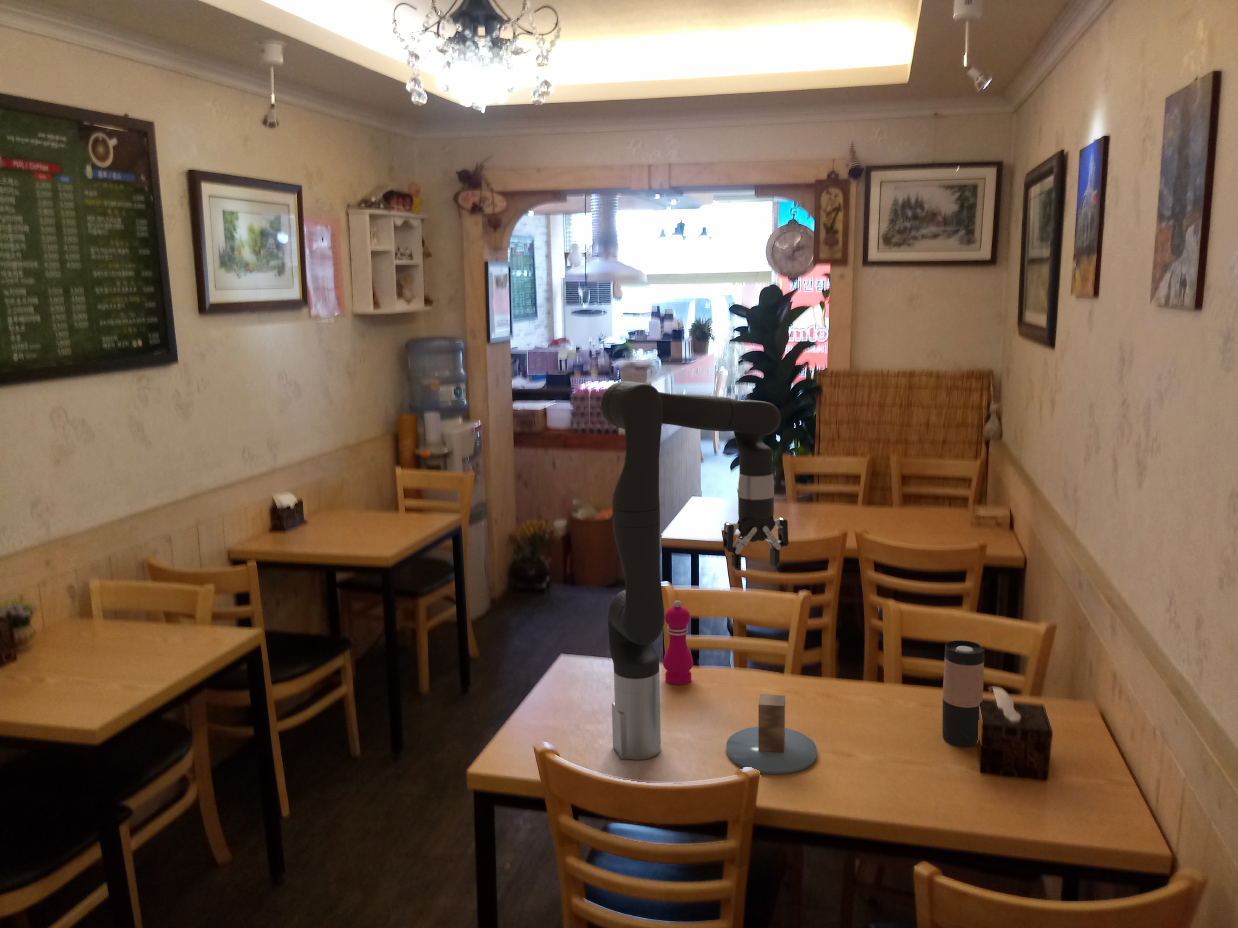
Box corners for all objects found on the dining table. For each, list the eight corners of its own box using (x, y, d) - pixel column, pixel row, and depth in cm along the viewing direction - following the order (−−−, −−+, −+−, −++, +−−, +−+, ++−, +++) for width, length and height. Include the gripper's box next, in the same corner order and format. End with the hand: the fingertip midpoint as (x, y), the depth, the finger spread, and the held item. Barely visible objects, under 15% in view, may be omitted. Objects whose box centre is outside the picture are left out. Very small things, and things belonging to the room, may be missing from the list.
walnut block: (758, 750, 186) (758, 704, 184) (760, 739, 191) (760, 693, 189) (783, 753, 185) (784, 705, 183) (784, 741, 190) (785, 695, 188)
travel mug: (934, 739, 191) (938, 647, 188) (950, 726, 197) (954, 637, 193) (971, 751, 186) (975, 657, 183) (986, 737, 192) (991, 645, 188)
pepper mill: (691, 686, 220) (690, 606, 217) (661, 684, 222) (659, 604, 218) (695, 674, 227) (694, 596, 224) (665, 672, 229) (664, 595, 225)
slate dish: (749, 780, 177) (749, 775, 177) (712, 739, 194) (712, 733, 194) (833, 765, 182) (833, 759, 182) (790, 725, 199) (790, 720, 199)
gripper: (732, 500, 192) (732, 576, 195) (794, 494, 196) (793, 568, 199) (718, 493, 199) (718, 566, 202) (778, 488, 203) (777, 559, 206)
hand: (755, 567), depth 201 cm, fingers open, 8 cm apart
